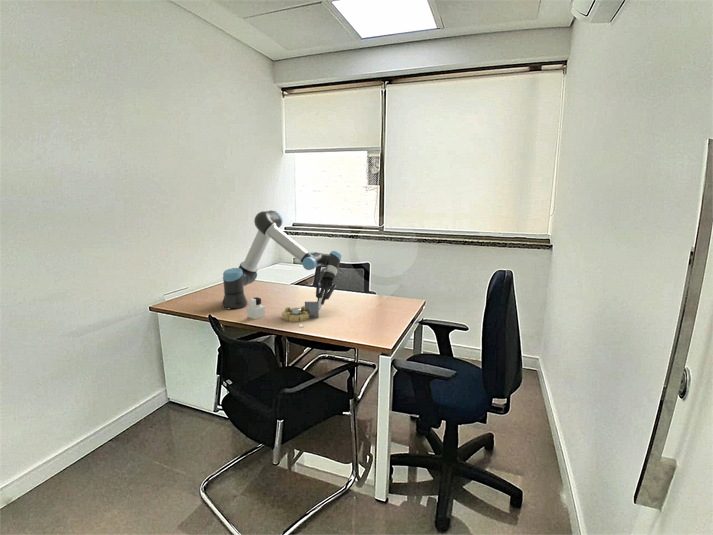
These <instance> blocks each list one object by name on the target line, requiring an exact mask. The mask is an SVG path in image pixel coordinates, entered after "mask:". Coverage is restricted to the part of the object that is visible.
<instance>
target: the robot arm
mask: <svg viewBox="0 0 713 535" xmlns="http://www.w3.org/2000/svg"><path fill="white" fill-rule="evenodd" d="M253 222H254V225H255V227H256V229H257V233H256V235H255V237H254V238H253V241H252V243H251V245H250V248H249V250H248V253H247V254H246V257H245V259H244V260H243V261H241V262H240V263H239V266H238V267H232V268H228V269H225V270H224V271H223V273H222V274H223V276H222V279H223V292H224V296H223V299H222V303H221V306H223V307H224V308H223V307H222V308H223V309H225V308H230V309H229V310H232V309H231V308H239V309H242V308H241V307H243V308H245V307H244V306H246V305H247V306H248V301H247V297H246V295H245V291H244V287H245V286H247V285H251V284H252V283H254V282H255V281H256V279H257V277H258V264H259V262H260V260H261V258H262V256H263V254H264V252H265V250H266V247H267V246H268V243H269V241H270V239H272V240H273V241H274V242H275V243H276V244H278V245H279V246H280V247H282V248H283V249H284V250H286V252H288V253H289V254H290V255H292V256H293V257H294V258H295V259H296V260H297V261H299V262H300V263H301V264H302V266H303V269H304V270H306V271H312V270H314V269H316V268H318V267H319V266H321V267H325V268H324V271H323V274H322V276H321V277H322V278H321V279H320V281H319V282H315V285H316V289H315V297H316V299H317V301H316V302H318V309H319V311H321V309H322V306H323V305H325V302H326V300H329V299H330V297H331V296H332V294H333V292H334V291H335V289H336V288H337V285H336V283H335V280H336V276H337V273H338V269H339V267H340V263H341V261H342V255H341V252H339V251H336V250H331V252H330V253H324V252H323V253H322V252H316V251H312V252H309V251H308V250H306V249H305V248H304V247H303V246H302V245H300V244H299V243H298V242H297V241H296V240H295V239H293V238H292V237H291V236H289V235H288V234H287V233H286V232H285V231H283V230H282V229H280V228H281V226H282V225H283V222H284V220H283V218H282V215H281V214H280V212H278V211H276V210H266V211H265V210H264V211H259V212H258V213H257V214H256V215H255V217H254V221H253ZM247 306H246V307H247Z"/></svg>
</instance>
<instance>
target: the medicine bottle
mask: <svg viewBox="0 0 713 535" xmlns="http://www.w3.org/2000/svg"><path fill="white" fill-rule="evenodd" d="M249 304H250V306H246V310H247V318H250V319H253V320H258V319H261V318H264V317H266V306H265V305H262V299H261V298H260V297H257V296H256V297H252V298H250V299H249Z"/></svg>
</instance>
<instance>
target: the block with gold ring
mask: <svg viewBox="0 0 713 535" xmlns="http://www.w3.org/2000/svg"><path fill="white" fill-rule="evenodd" d="M293 308H294V307H289V306H287V307H285V308H284V309H285V310H283V311H282V313H281V317H282V320H284V321H286V322H293V323H294V322H297V323H298V322H304V321H307V320H309V319H312V318H313V319H315V318H316V319H317V318H318V319H319V317H320V316H319V315H320V314H319V313H320V312H319V311H320V310H319V309H318V302H317V301H304V305H303V306H301V307H300V308H301V315H292V309H293Z"/></svg>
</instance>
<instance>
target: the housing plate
mask: <svg viewBox="0 0 713 535" xmlns="http://www.w3.org/2000/svg"><path fill="white" fill-rule="evenodd" d="M292 308H293V309H292V315H301V307H292Z"/></svg>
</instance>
